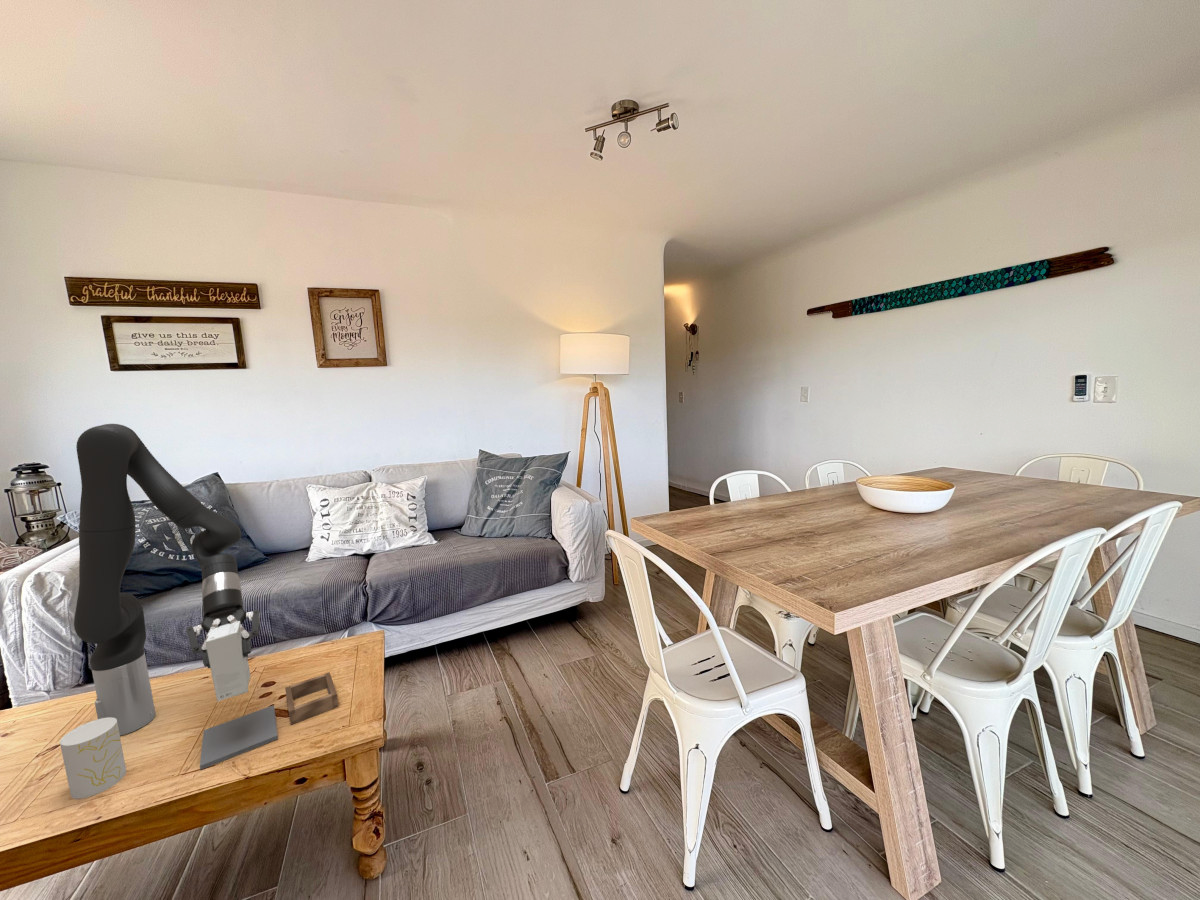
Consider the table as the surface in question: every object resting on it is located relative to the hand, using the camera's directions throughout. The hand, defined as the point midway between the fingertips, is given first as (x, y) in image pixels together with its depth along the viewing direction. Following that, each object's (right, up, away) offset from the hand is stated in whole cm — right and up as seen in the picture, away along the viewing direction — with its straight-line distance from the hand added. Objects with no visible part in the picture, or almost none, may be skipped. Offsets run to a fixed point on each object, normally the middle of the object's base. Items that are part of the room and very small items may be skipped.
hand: (228, 661), depth 108 cm
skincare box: (-1, -8, +2) cm, 8 cm away
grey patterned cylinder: (-21, -22, -8) cm, 32 cm away
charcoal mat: (0, -20, +4) cm, 20 cm away
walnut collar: (+10, -18, +15) cm, 25 cm away
